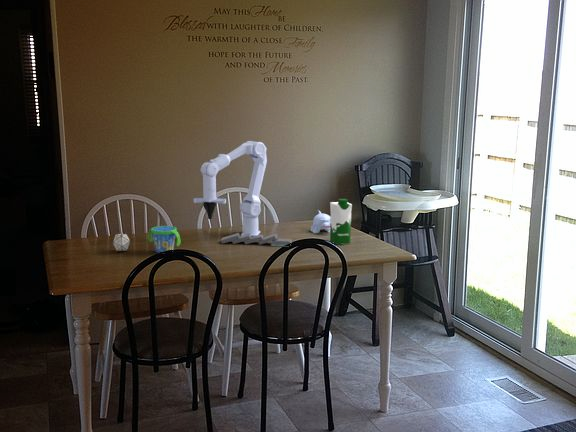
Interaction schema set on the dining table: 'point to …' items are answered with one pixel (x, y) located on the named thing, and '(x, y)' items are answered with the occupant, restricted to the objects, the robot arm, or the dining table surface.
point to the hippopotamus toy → (321, 223)
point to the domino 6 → (281, 241)
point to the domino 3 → (254, 239)
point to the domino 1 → (230, 238)
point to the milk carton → (340, 221)
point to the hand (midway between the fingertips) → (210, 218)
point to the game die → (121, 242)
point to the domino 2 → (242, 238)
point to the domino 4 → (268, 239)
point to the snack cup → (164, 238)
